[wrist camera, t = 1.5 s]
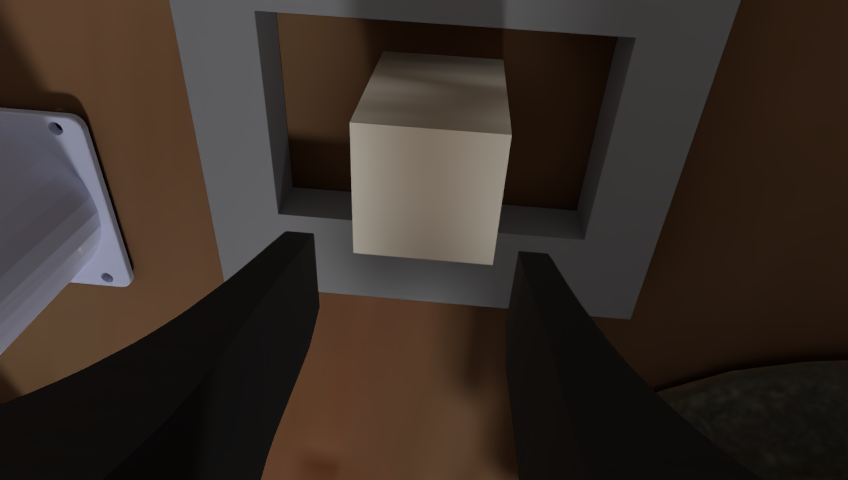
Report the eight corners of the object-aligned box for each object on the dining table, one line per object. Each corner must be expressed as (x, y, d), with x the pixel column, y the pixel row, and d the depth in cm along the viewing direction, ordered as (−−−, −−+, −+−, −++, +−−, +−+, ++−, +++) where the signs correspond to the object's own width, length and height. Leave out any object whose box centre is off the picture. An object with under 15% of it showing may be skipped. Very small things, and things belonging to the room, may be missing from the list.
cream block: (382, 158, 21) (353, 252, 16) (383, 50, 19) (349, 122, 14) (489, 167, 21) (492, 265, 16) (503, 59, 19) (512, 135, 14)
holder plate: (242, 253, 24) (224, 283, 23) (175, -141, 16) (141, -139, 15) (619, 287, 24) (630, 319, 22) (744, -106, 16) (775, -101, 14)
